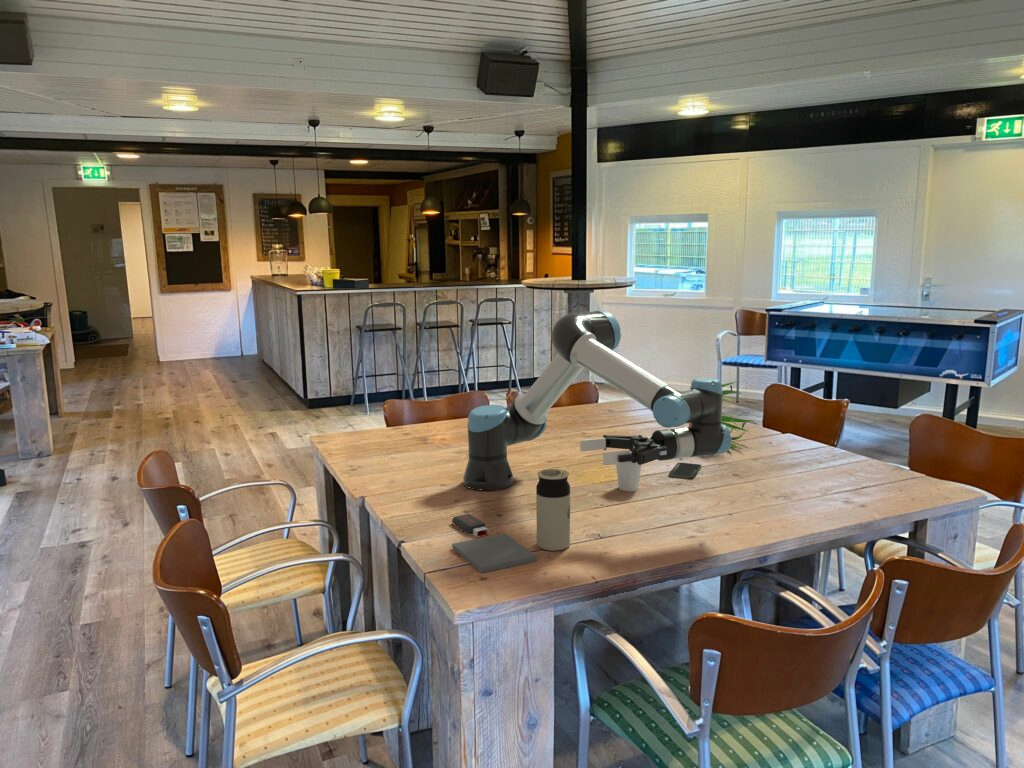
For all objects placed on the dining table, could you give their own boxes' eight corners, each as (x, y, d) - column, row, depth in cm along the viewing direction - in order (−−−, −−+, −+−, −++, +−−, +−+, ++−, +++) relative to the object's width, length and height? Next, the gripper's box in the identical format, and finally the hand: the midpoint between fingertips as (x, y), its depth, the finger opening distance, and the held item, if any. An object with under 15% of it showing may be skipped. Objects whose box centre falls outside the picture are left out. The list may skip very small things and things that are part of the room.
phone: (668, 474, 235) (678, 462, 249) (667, 478, 235) (678, 465, 249) (693, 477, 232) (702, 464, 245) (693, 480, 232) (702, 467, 246)
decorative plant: (698, 446, 292) (764, 460, 268) (653, 443, 277) (718, 457, 253) (708, 379, 291) (775, 387, 267) (663, 373, 277) (729, 380, 252)
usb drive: (469, 521, 200) (469, 511, 199) (491, 535, 189) (491, 525, 189) (452, 525, 197) (451, 515, 197) (473, 539, 187) (473, 529, 186)
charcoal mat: (452, 548, 180) (452, 543, 180) (504, 537, 187) (504, 533, 186) (481, 573, 166) (481, 567, 166) (536, 560, 173) (536, 555, 172)
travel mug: (532, 549, 179) (531, 476, 176) (542, 537, 187) (542, 467, 183) (564, 553, 176) (564, 479, 173) (573, 541, 184) (573, 469, 181)
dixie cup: (621, 494, 219) (621, 460, 217) (609, 485, 227) (610, 453, 225) (647, 491, 221) (648, 458, 220) (635, 483, 229) (635, 451, 228)
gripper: (697, 472, 176) (614, 481, 170) (647, 447, 199) (572, 454, 193) (698, 440, 175) (614, 449, 168) (647, 419, 198) (572, 426, 192)
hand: (591, 452), depth 181 cm, fingers open, 13 cm apart
